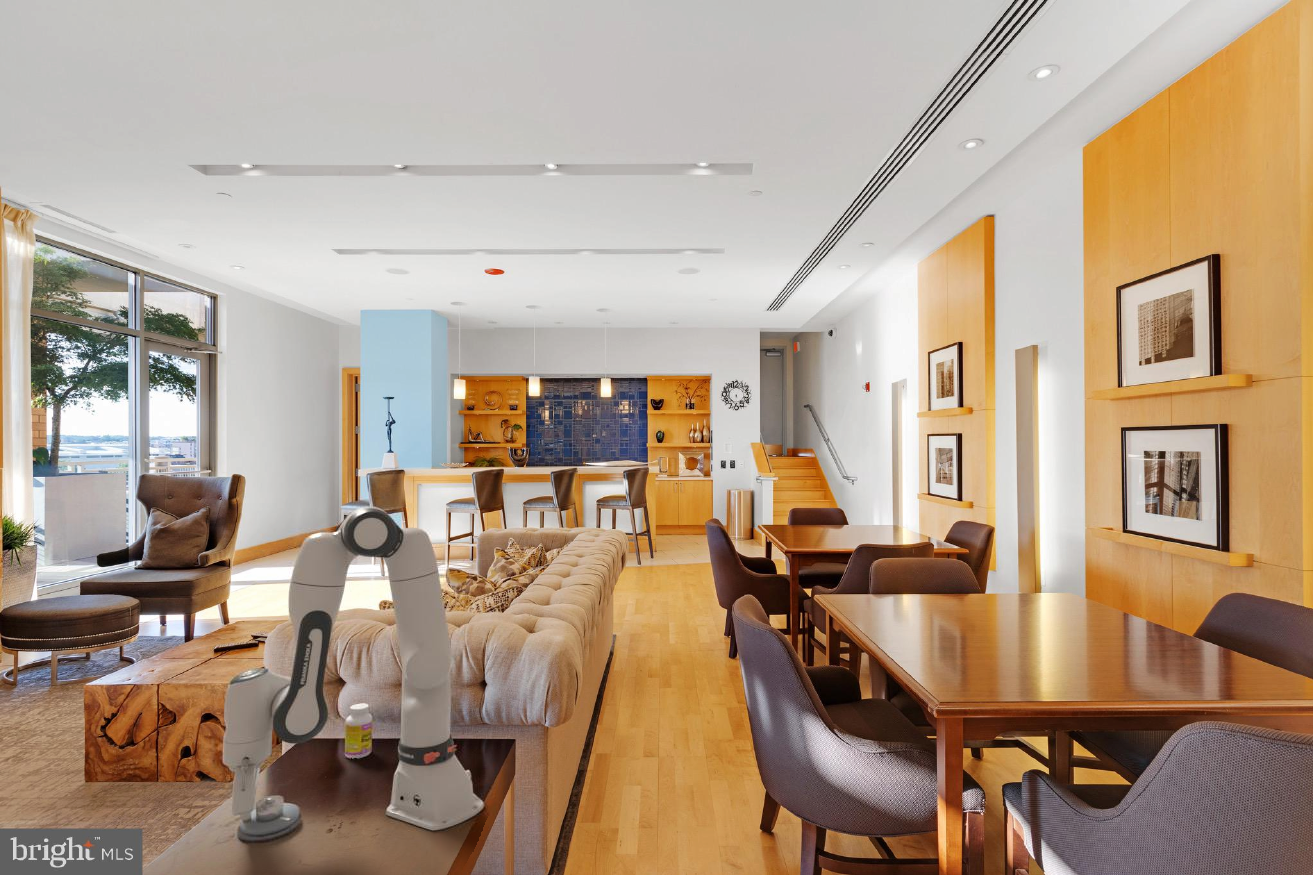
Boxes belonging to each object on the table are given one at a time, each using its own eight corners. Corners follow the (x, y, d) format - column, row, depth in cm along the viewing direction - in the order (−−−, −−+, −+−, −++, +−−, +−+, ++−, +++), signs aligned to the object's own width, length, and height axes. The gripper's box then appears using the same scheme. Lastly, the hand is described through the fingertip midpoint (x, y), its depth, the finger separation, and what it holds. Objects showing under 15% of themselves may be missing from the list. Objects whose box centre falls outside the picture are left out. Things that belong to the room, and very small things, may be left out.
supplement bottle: (361, 760, 182) (362, 711, 182) (339, 758, 183) (340, 709, 183) (376, 750, 188) (377, 702, 189) (355, 748, 189) (356, 701, 190)
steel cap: (287, 815, 148) (287, 797, 149) (261, 825, 144) (262, 806, 144) (277, 807, 152) (277, 790, 152) (251, 817, 148) (252, 799, 148)
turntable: (308, 819, 149) (309, 795, 149) (252, 841, 140) (253, 815, 141) (285, 803, 156) (286, 780, 156) (231, 823, 147) (231, 798, 148)
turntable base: (311, 825, 149) (311, 820, 149) (251, 849, 140) (251, 844, 140) (286, 807, 157) (286, 803, 157) (228, 829, 147) (228, 824, 147)
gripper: (261, 766, 137) (260, 836, 136) (267, 730, 155) (265, 792, 154) (224, 772, 134) (222, 844, 133) (234, 735, 152) (233, 798, 151)
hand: (245, 816), depth 144 cm, fingers closed
